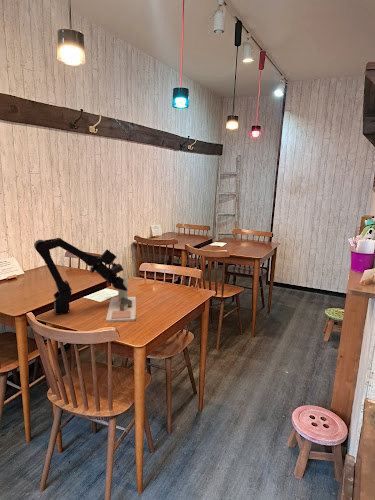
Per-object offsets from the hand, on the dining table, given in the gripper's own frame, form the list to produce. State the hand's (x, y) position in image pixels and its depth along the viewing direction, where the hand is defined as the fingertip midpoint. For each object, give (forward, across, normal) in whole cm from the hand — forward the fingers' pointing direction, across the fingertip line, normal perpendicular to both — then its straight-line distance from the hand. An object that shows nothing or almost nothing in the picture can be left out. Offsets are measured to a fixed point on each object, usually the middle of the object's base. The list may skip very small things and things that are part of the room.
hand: (123, 288), depth 191 cm
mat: (-1, -21, +12) cm, 24 cm away
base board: (+2, -10, +9) cm, 14 cm away
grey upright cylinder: (+4, 0, +5) cm, 7 cm away
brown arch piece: (+2, -10, +8) cm, 13 cm away
